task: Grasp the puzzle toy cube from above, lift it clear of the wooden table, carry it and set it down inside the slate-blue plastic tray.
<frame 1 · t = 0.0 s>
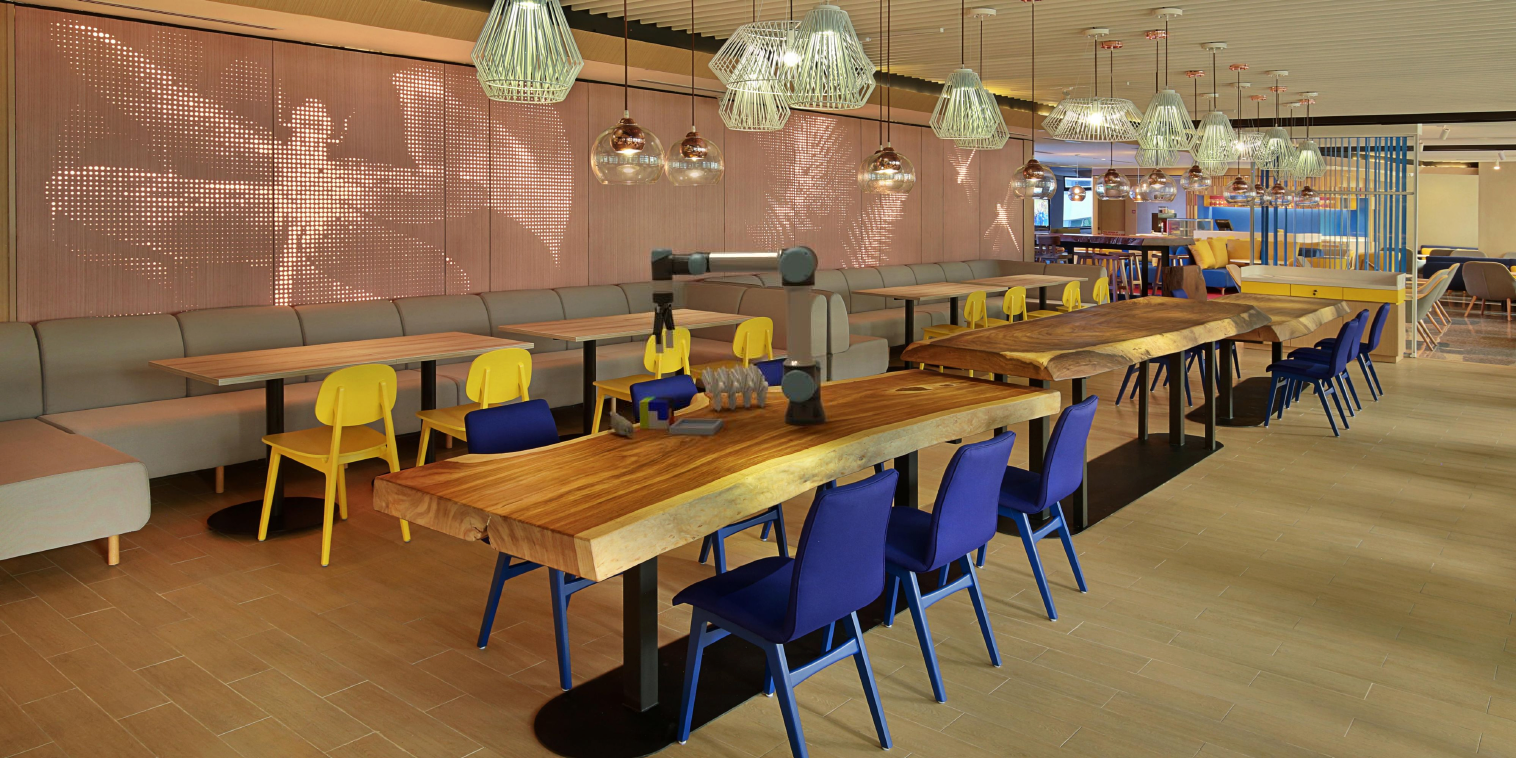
hand: (664, 350, 373), 28 cm above the table, fingers open, 13 cm apart
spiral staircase: (737, 409, 408), on the table
decorative bird: (621, 435, 364), on the table
puzzle toy: (657, 426, 378), on the table
tray: (696, 429, 370), on the table
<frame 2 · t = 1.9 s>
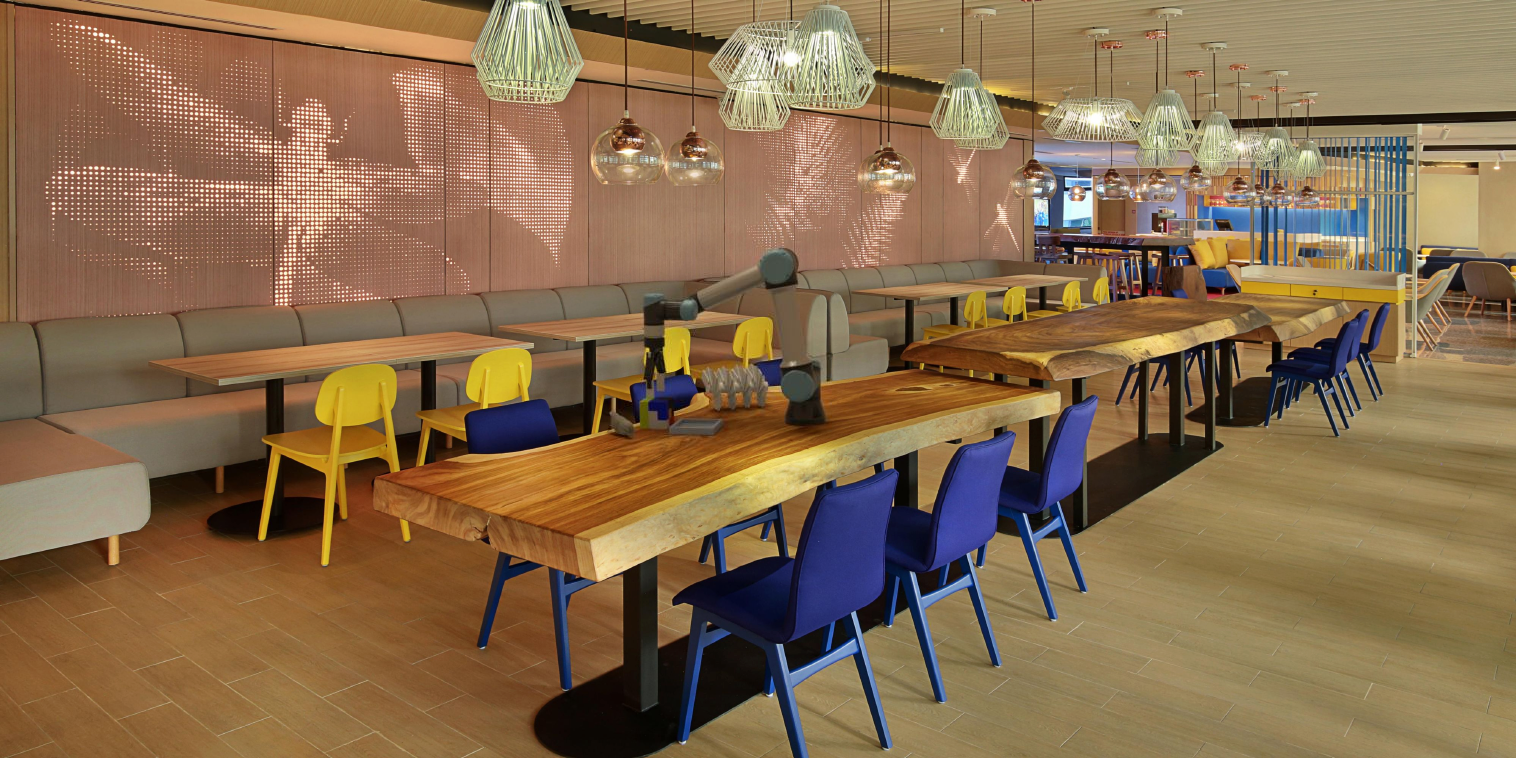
hand: (655, 394, 376), 12 cm above the table, fingers open, 13 cm apart
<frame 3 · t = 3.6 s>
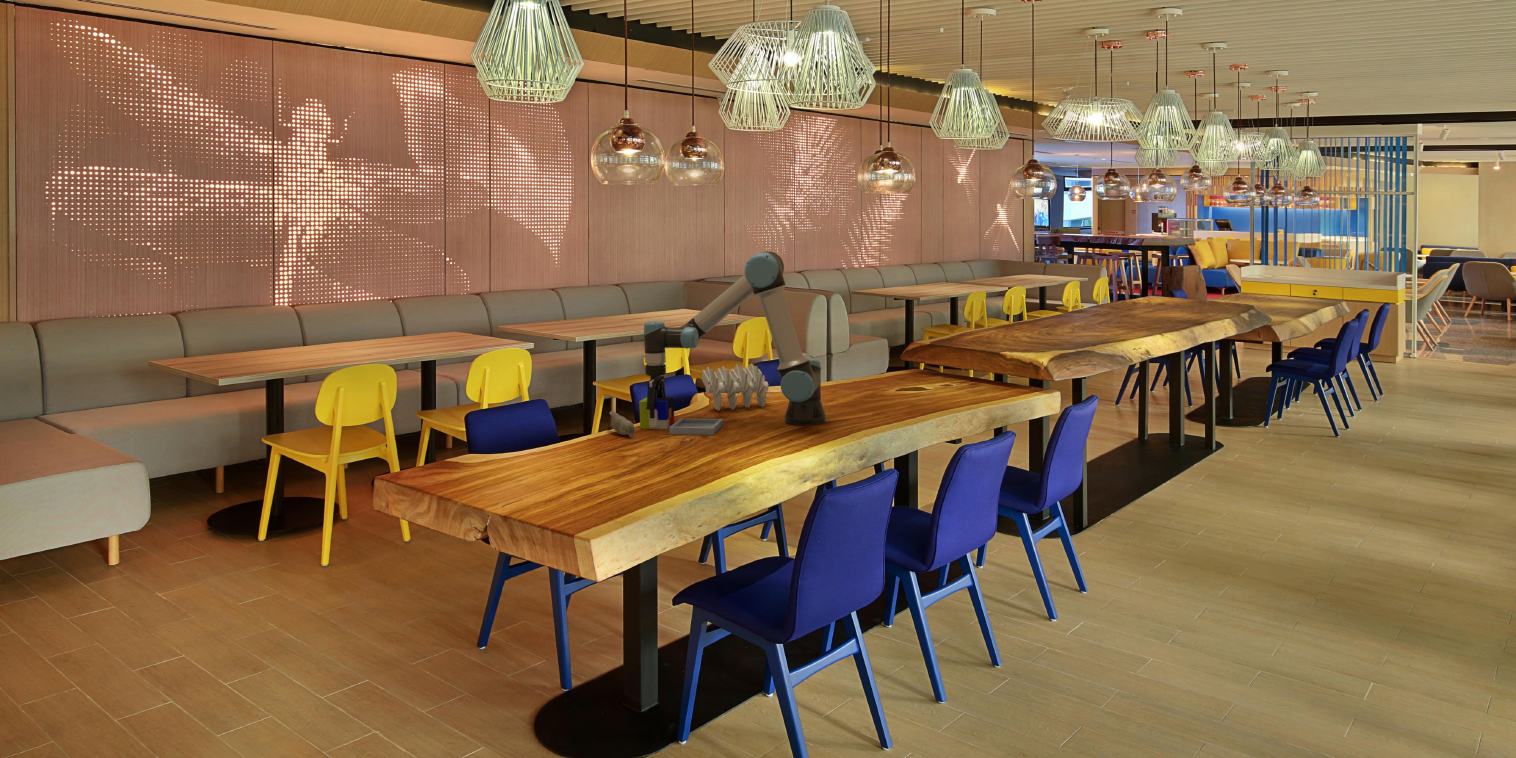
hand: (657, 423, 378), 1 cm above the table, fingers closed on puzzle toy, 10 cm apart
puzzle toy: (657, 426, 378), on the table, touching gripper
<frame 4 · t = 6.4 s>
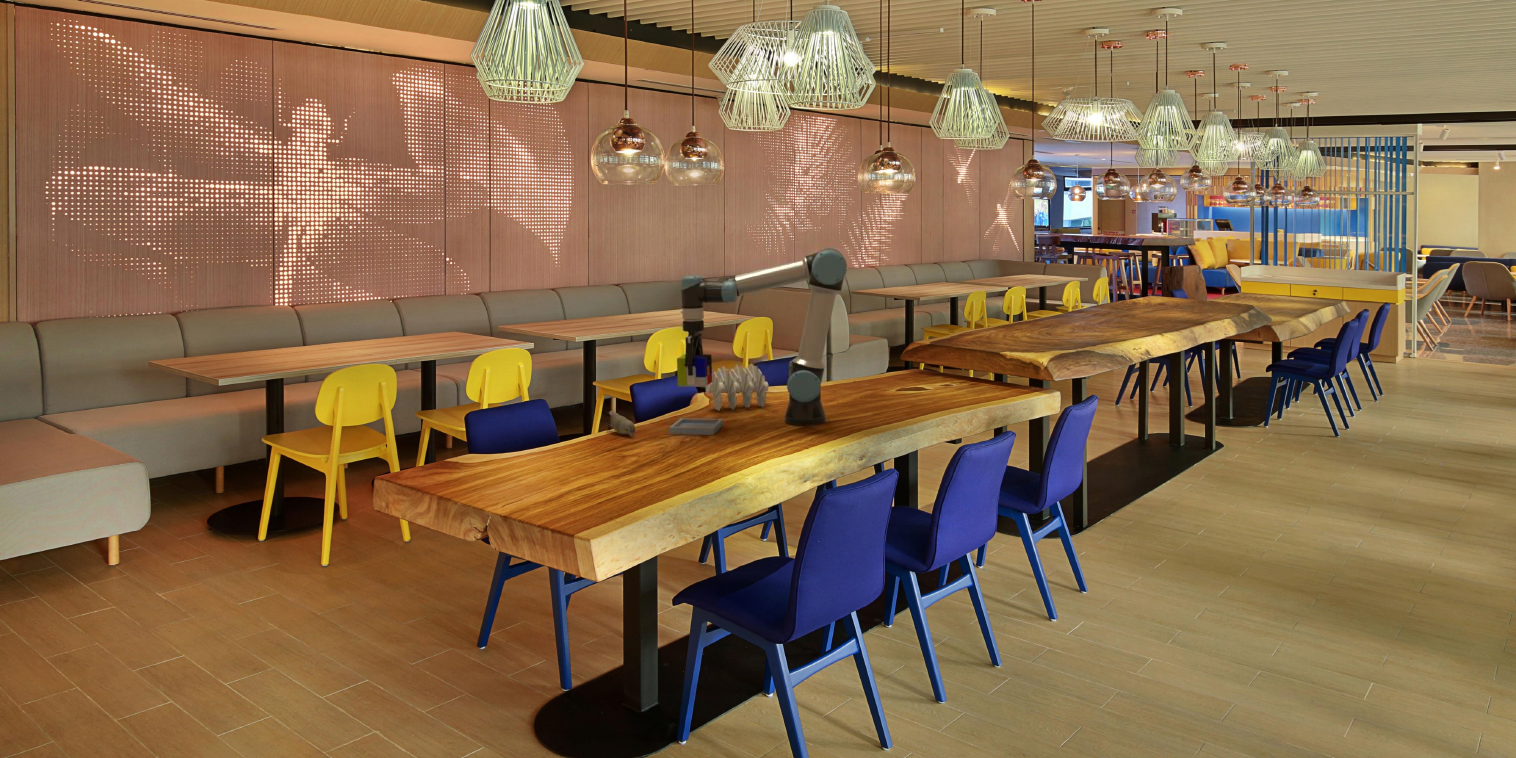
hand: (695, 381, 368), 17 cm above the table, fingers closed on puzzle toy, 10 cm apart
puzzle toy: (695, 384, 368), point 16 cm above the table, touching gripper
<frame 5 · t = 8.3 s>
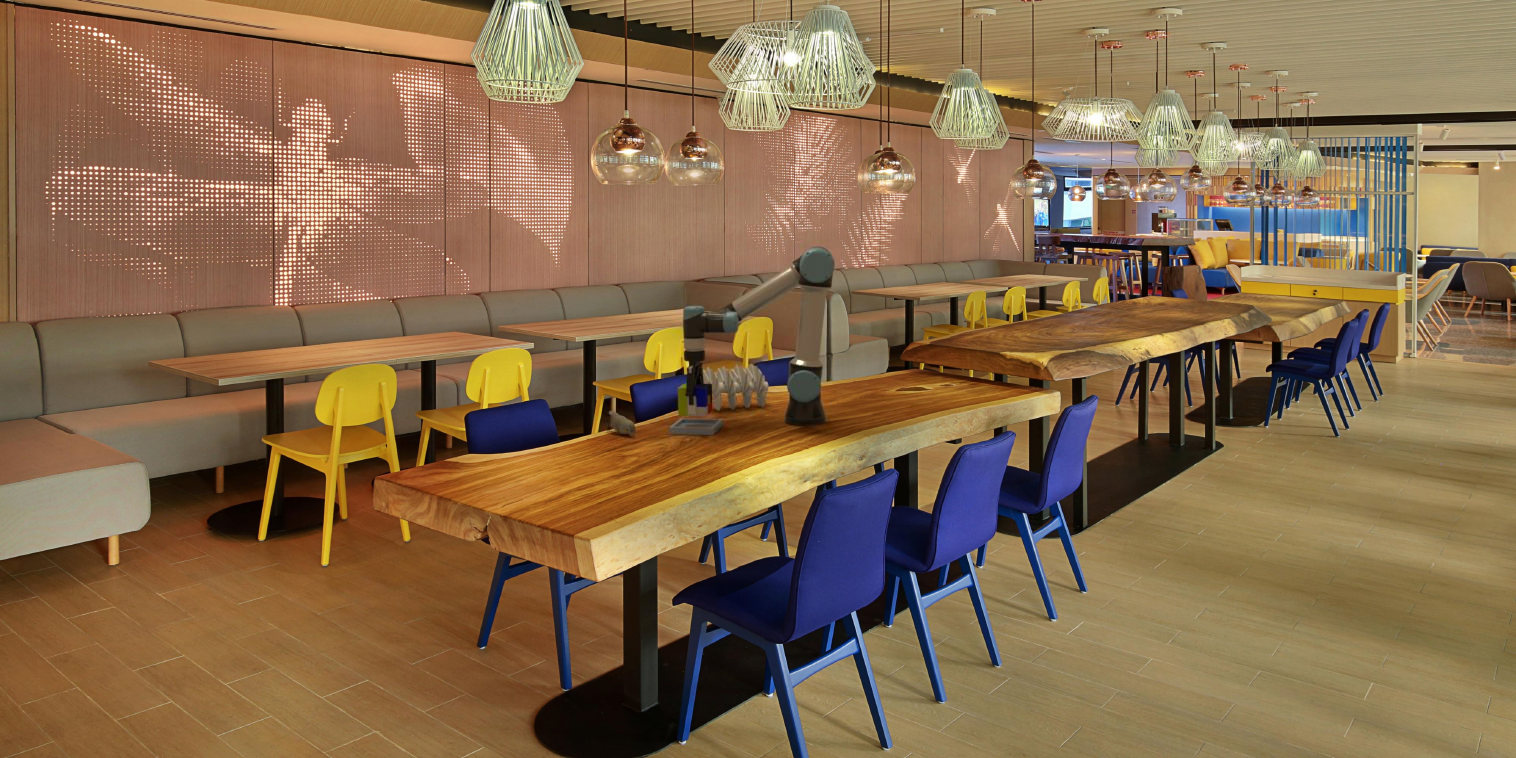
hand: (695, 411, 369), 7 cm above the table, fingers closed on puzzle toy, 10 cm apart
puzzle toy: (695, 413, 369), point 6 cm above the table, touching gripper
when the fingers open (3 cm above the table, at t = 9.6 s): puzzle toy drops 1 cm, resting on tray.
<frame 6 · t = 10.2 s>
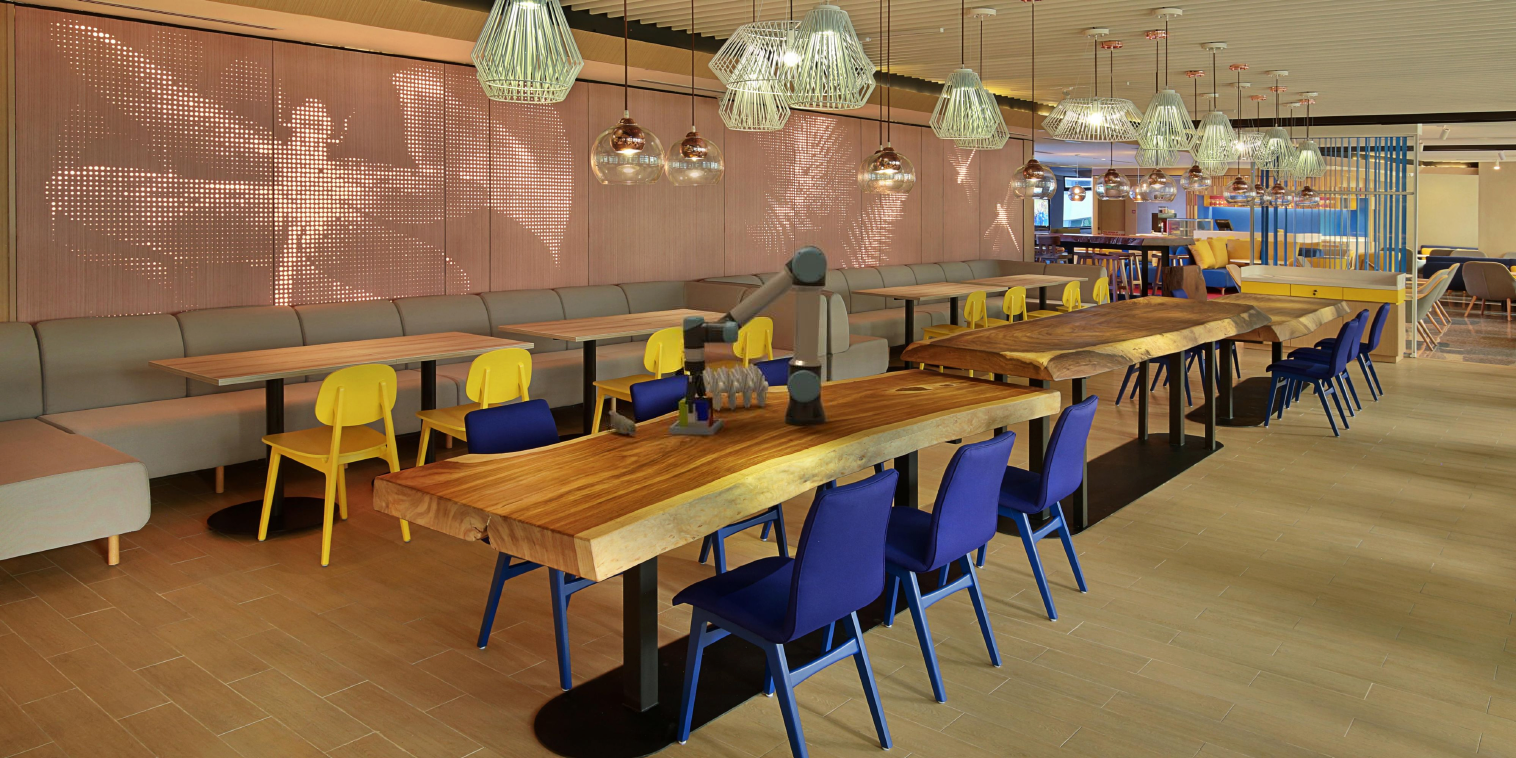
hand: (696, 418, 370), 4 cm above the table, fingers open, 13 cm apart
puzzle toy: (696, 427, 370), point 1 cm above the table, touching tray
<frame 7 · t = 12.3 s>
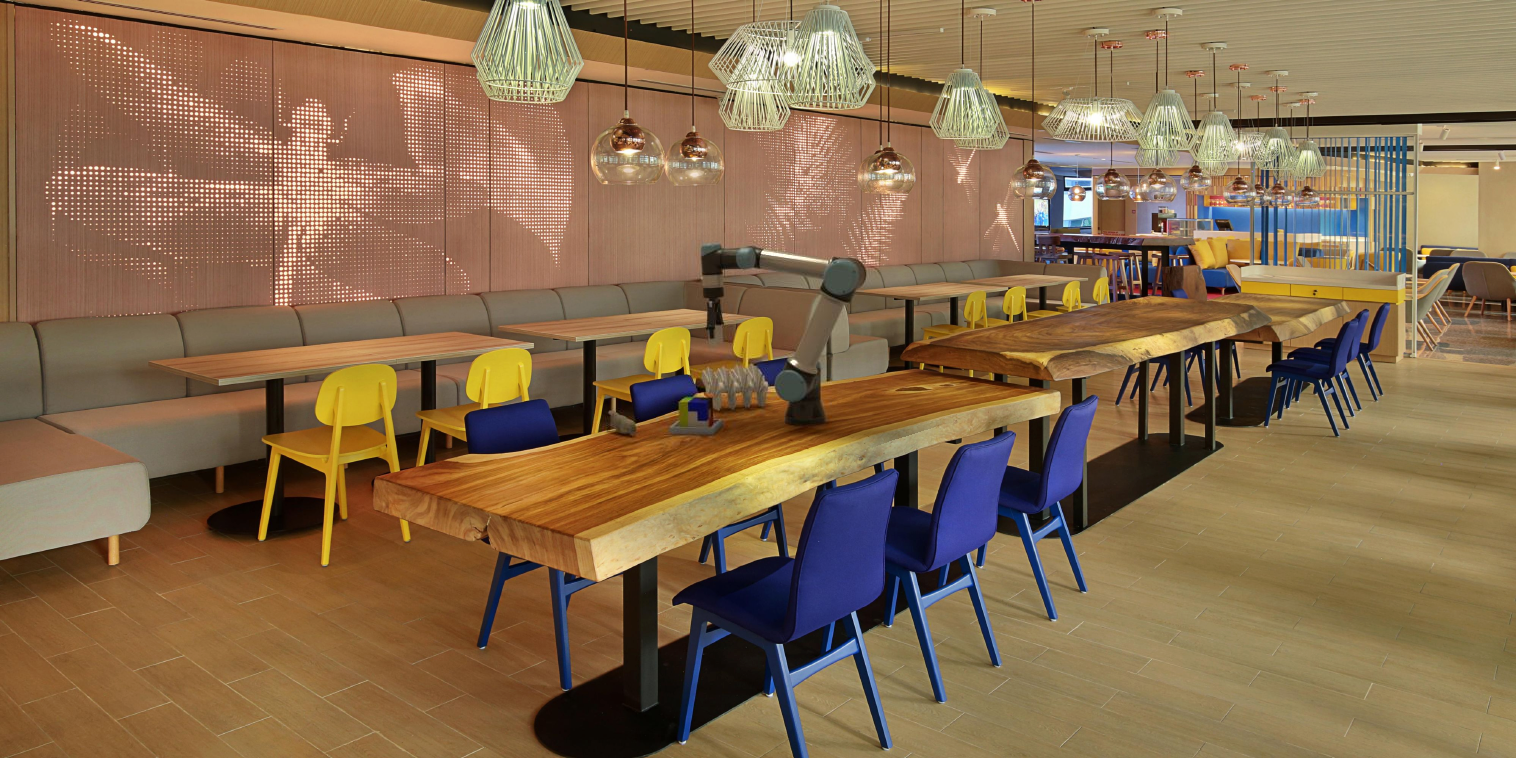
hand: (716, 345, 373), 29 cm above the table, fingers open, 13 cm apart
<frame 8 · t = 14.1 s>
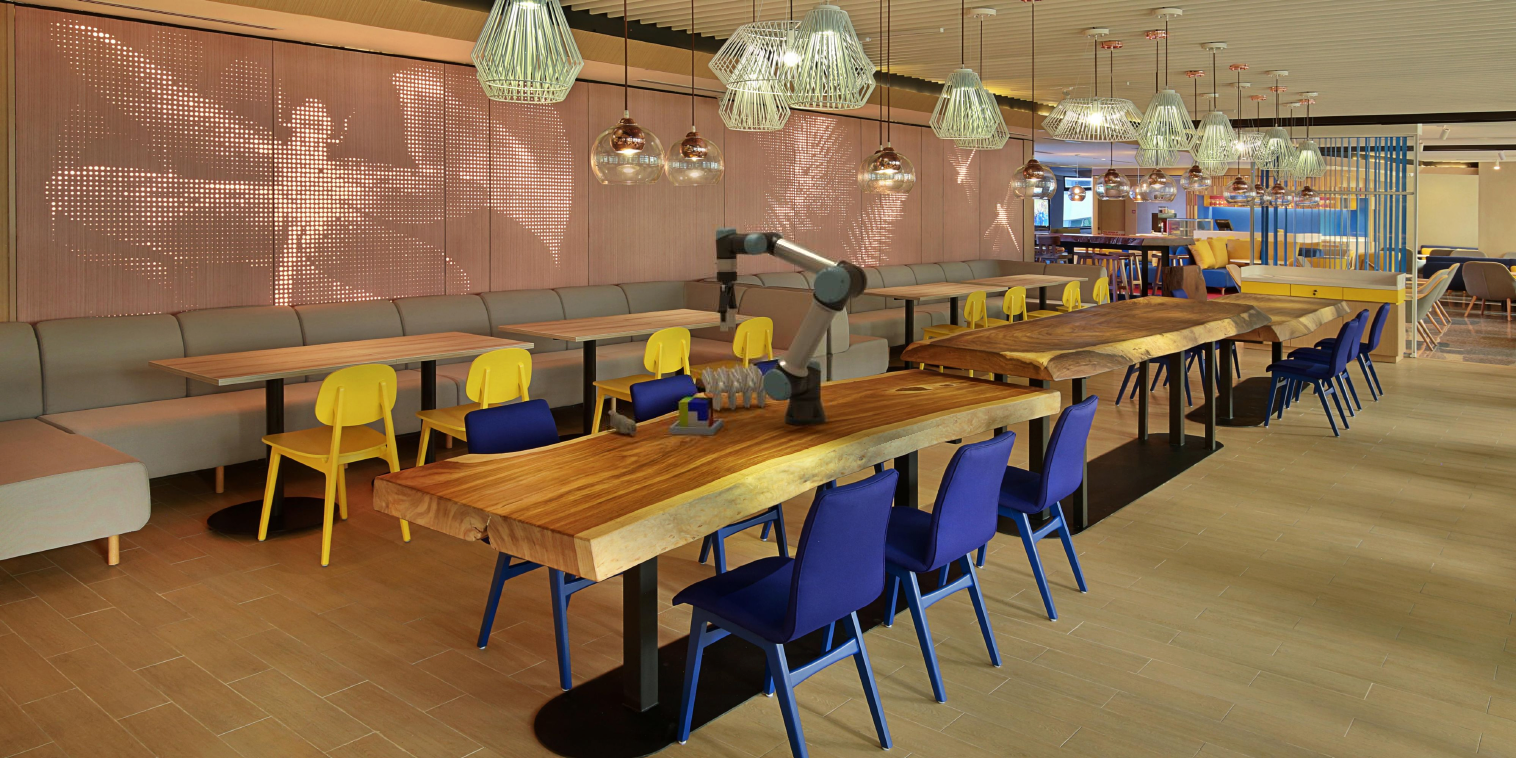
hand: (728, 328, 379), 35 cm above the table, fingers open, 13 cm apart
at the end: puzzle toy inside the target area on the tray (0.0 cm from its centre), point 0.8 cm above the tray's base; the gripper is holding nothing; puzzle toy touching tray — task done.
